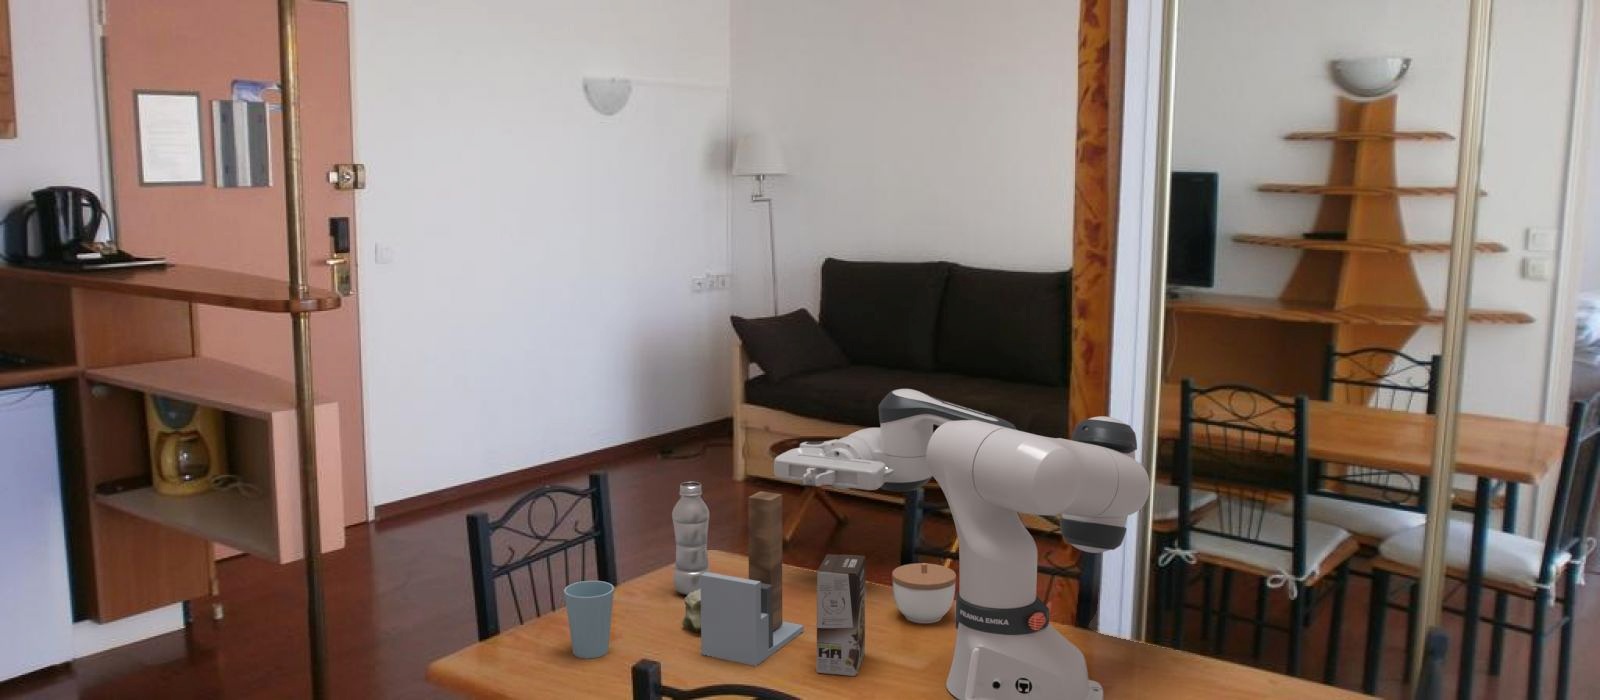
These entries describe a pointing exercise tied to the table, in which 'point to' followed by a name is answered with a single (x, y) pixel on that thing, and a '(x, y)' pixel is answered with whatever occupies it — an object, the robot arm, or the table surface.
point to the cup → (589, 617)
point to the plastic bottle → (690, 538)
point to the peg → (766, 545)
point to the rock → (693, 611)
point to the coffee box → (840, 614)
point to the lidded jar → (923, 591)
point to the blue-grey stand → (740, 620)
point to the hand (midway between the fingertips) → (810, 481)
